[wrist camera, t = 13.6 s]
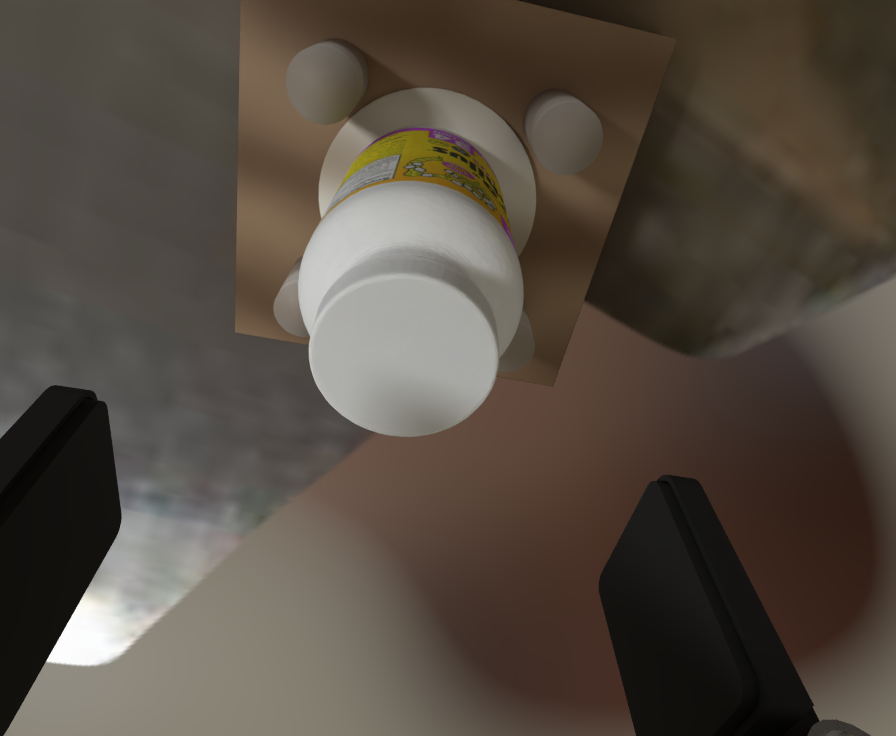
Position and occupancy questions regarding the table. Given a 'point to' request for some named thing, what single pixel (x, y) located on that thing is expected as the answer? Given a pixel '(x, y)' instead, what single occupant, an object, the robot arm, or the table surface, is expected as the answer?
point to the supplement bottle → (411, 285)
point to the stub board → (448, 107)
